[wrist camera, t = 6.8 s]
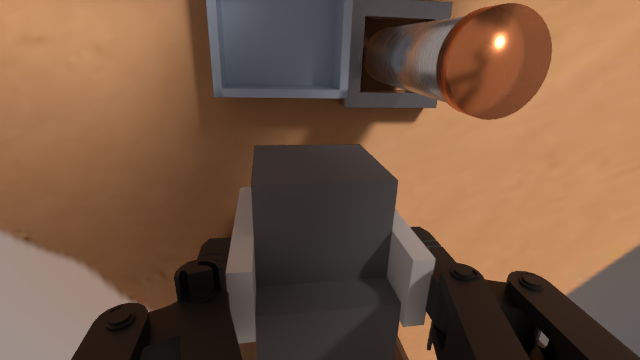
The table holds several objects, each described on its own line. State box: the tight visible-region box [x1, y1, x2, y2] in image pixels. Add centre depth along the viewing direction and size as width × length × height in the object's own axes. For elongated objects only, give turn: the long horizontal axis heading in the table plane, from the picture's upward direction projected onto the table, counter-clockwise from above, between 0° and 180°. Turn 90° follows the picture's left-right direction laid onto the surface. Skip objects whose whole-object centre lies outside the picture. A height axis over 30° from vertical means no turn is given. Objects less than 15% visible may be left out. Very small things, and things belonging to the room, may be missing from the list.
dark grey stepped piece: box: [251, 144, 401, 360], centre depth 14 cm, size 7×5×6 cm
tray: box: [206, 0, 353, 98], centre depth 20 cm, size 8×8×3 cm
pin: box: [364, 3, 552, 120], centre depth 18 cm, size 4×4×12 cm
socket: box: [340, 0, 453, 108], centre depth 23 cm, size 7×7×2 cm
